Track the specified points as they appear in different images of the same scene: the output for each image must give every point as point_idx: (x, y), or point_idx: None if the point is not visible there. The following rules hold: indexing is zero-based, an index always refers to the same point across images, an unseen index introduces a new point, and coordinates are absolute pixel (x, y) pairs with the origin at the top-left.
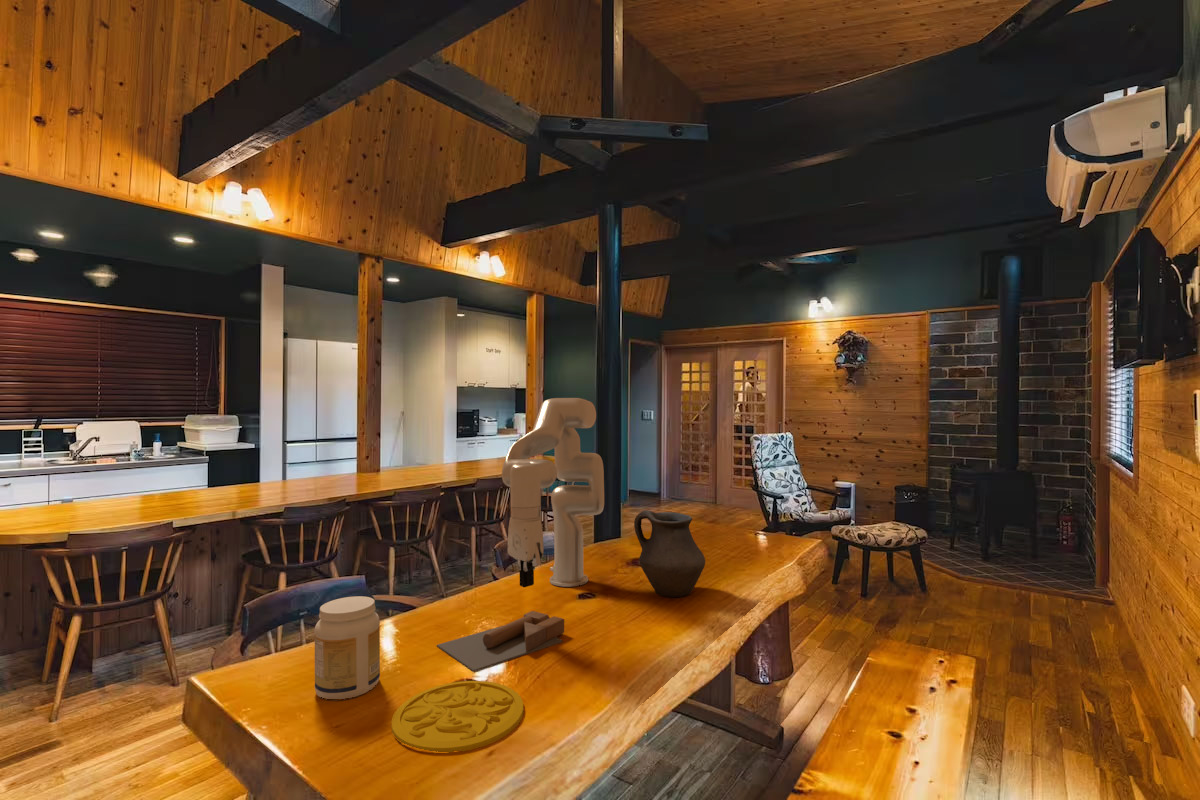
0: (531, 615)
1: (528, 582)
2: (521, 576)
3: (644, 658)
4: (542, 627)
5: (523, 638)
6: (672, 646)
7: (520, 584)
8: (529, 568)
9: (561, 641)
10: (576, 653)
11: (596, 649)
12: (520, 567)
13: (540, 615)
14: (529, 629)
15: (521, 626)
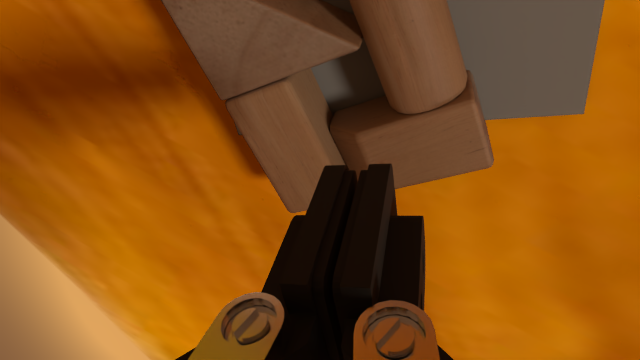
0: (423, 126)
1: (294, 226)
2: (346, 234)
3: (49, 232)
4: (225, 87)
5: (343, 3)
6: (104, 307)
7: (371, 169)
8: (188, 356)
9: (238, 128)
10: (125, 116)
11: (138, 180)
12: (360, 333)
13: (391, 161)
14: (226, 15)
15: (356, 18)
